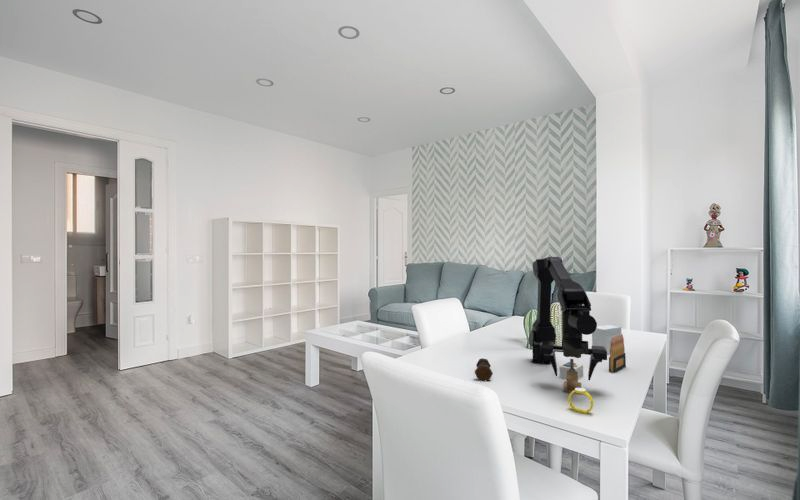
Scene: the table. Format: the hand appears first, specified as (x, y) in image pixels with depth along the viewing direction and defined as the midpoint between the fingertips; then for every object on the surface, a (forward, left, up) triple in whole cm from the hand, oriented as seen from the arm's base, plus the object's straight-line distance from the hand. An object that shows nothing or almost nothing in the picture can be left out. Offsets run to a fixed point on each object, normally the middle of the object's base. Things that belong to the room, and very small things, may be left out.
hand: (572, 378), depth 119 cm
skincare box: (+13, +52, -4) cm, 54 cm away
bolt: (-28, +4, -4) cm, 29 cm away
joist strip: (0, +9, -3) cm, 9 cm away
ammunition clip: (+15, +27, -4) cm, 31 cm away
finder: (0, +12, -4) cm, 13 cm away
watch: (+2, -17, -4) cm, 17 cm away
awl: (0, 0, -3) cm, 3 cm away
